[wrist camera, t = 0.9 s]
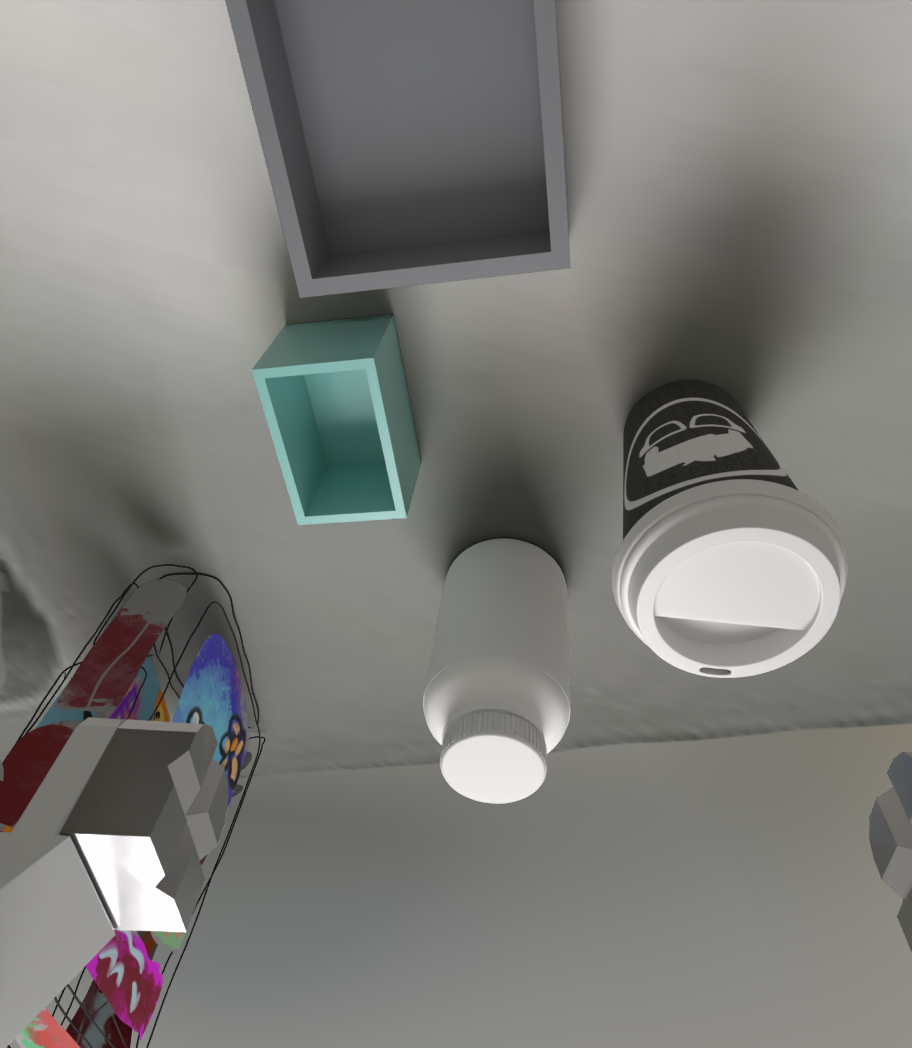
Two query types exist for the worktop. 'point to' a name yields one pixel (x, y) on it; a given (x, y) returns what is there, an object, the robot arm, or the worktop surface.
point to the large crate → (409, 137)
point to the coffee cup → (720, 540)
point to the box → (126, 693)
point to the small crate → (341, 419)
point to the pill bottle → (499, 670)
